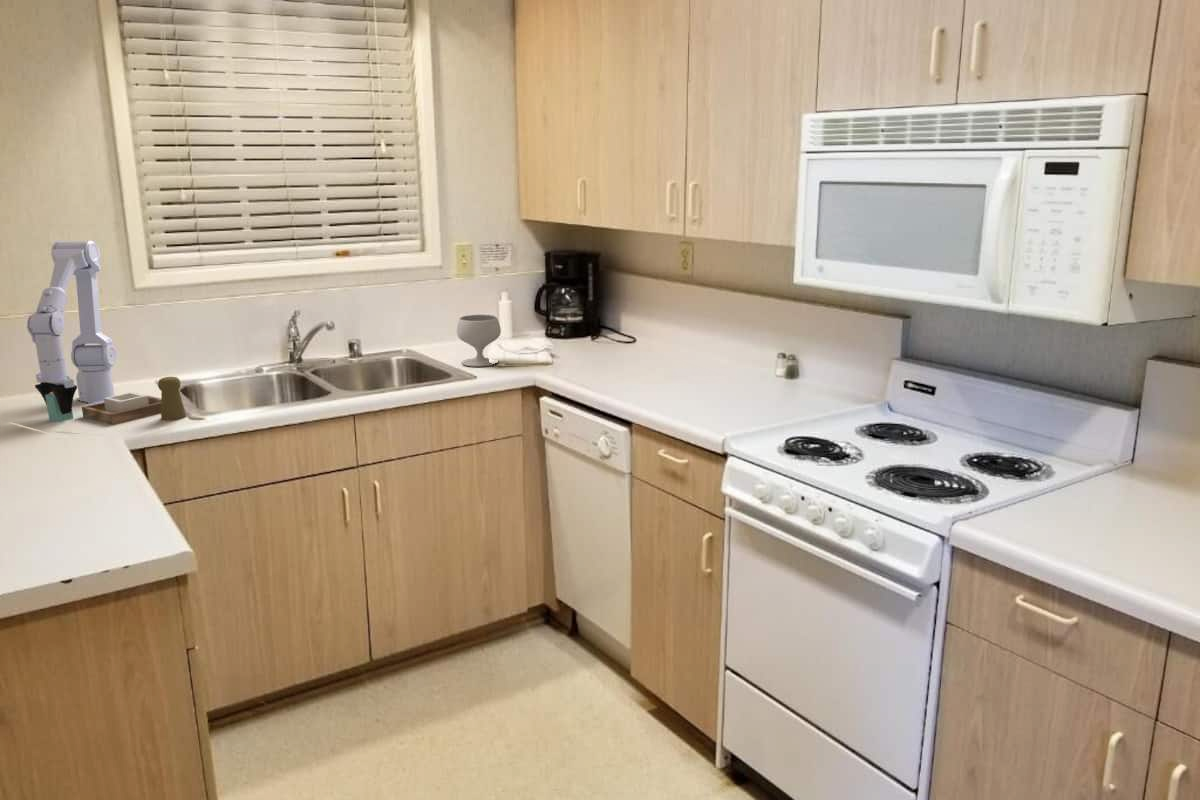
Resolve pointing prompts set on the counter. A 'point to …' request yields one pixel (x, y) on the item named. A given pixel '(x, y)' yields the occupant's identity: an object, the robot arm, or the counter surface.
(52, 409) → the plug
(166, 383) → the olive pepper mill
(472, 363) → the chalice
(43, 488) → the counter surface
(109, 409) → the frame
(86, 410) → the parts box
